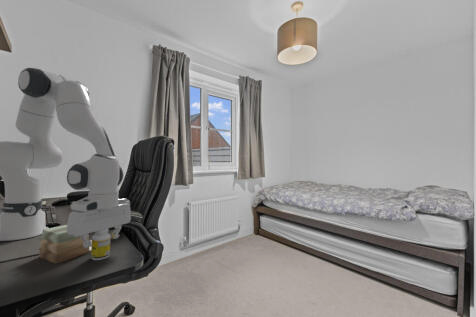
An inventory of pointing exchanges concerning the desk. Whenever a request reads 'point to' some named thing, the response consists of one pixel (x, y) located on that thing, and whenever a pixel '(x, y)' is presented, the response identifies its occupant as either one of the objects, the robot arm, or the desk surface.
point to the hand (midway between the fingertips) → (101, 242)
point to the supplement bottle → (100, 245)
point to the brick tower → (60, 245)
